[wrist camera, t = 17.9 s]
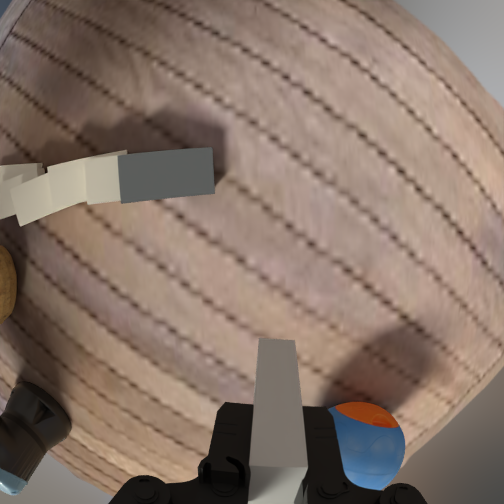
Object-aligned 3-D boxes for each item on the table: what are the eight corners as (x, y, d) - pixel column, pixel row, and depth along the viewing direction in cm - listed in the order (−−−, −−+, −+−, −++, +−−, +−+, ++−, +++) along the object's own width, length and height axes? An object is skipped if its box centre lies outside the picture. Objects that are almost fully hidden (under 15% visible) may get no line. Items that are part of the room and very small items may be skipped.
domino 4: (132, 191, 36) (57, 206, 33) (127, 151, 35) (52, 167, 32) (131, 192, 34) (52, 208, 31) (126, 149, 33) (47, 166, 30)
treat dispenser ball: (406, 391, 42) (440, 461, 27) (357, 450, 46) (372, 517, 32) (323, 370, 41) (340, 454, 27) (279, 436, 46) (279, 512, 31)
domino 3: (89, 198, 36) (24, 224, 33) (79, 162, 35) (14, 188, 32) (87, 199, 35) (20, 226, 32) (77, 161, 33) (9, 189, 30)
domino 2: (50, 203, 36) (2, 218, 36) (44, 167, 35) (-4, 186, 34) (43, 206, 34) (-6, 221, 34) (36, 168, 33) (-12, 187, 32)
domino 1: (44, 197, 37) (3, 196, 38) (45, 162, 36) (3, 165, 36) (36, 199, 36) (-6, 198, 36) (37, 163, 34) (-6, 166, 34)
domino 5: (174, 193, 36) (90, 202, 33) (172, 151, 35) (87, 160, 32) (175, 195, 34) (87, 204, 31) (173, 150, 33) (84, 159, 30)
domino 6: (211, 192, 35) (122, 201, 32) (208, 148, 34) (119, 156, 31) (214, 193, 33) (121, 203, 30) (212, 147, 32) (117, 155, 29)
